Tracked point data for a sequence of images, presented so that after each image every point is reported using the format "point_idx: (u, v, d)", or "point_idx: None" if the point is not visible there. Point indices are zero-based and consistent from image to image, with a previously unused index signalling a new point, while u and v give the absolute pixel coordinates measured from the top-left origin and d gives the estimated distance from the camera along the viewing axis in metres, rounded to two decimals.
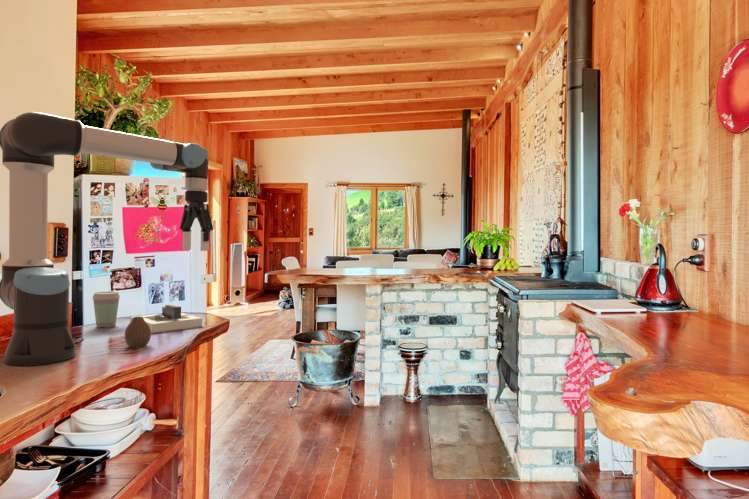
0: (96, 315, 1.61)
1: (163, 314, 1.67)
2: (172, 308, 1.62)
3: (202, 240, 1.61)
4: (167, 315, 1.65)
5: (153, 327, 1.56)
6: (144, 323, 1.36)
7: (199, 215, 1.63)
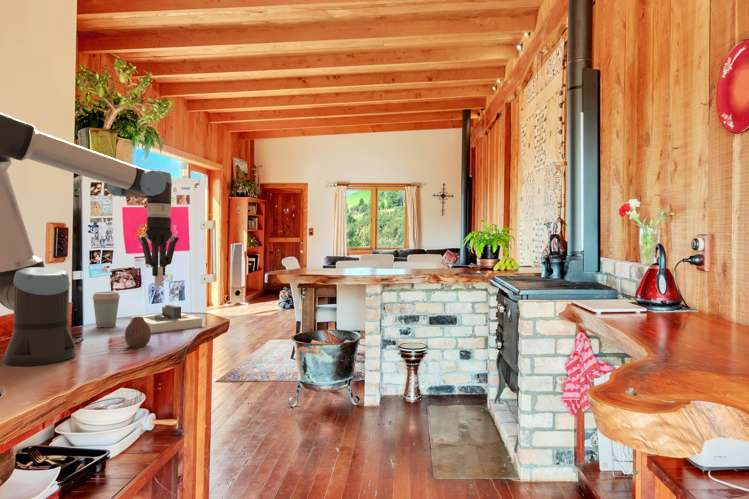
0: (96, 315, 1.61)
1: (163, 314, 1.67)
2: (172, 308, 1.62)
3: None
4: (167, 315, 1.65)
5: (153, 327, 1.56)
6: (144, 323, 1.36)
7: (152, 246, 1.57)
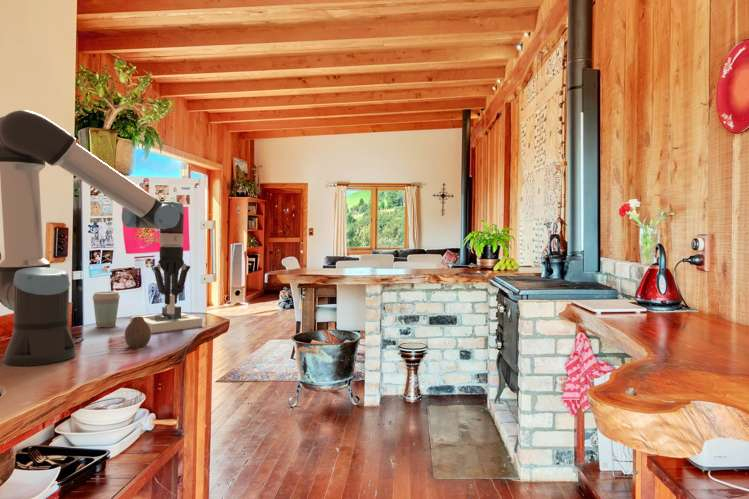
0: (96, 315, 1.61)
1: (163, 314, 1.67)
2: None
3: None
4: (167, 315, 1.65)
5: (153, 327, 1.56)
6: (144, 323, 1.36)
7: (164, 275, 1.61)
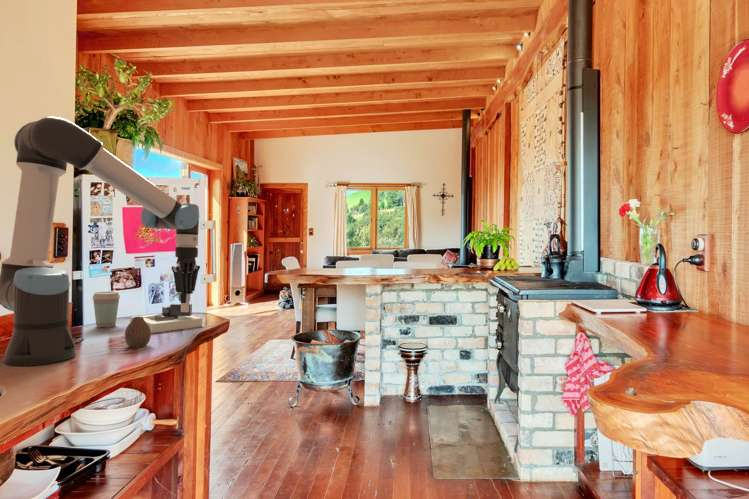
0: (96, 315, 1.61)
1: (166, 314, 1.67)
2: None
3: None
4: (175, 314, 1.67)
5: (153, 327, 1.56)
6: (144, 323, 1.36)
7: None
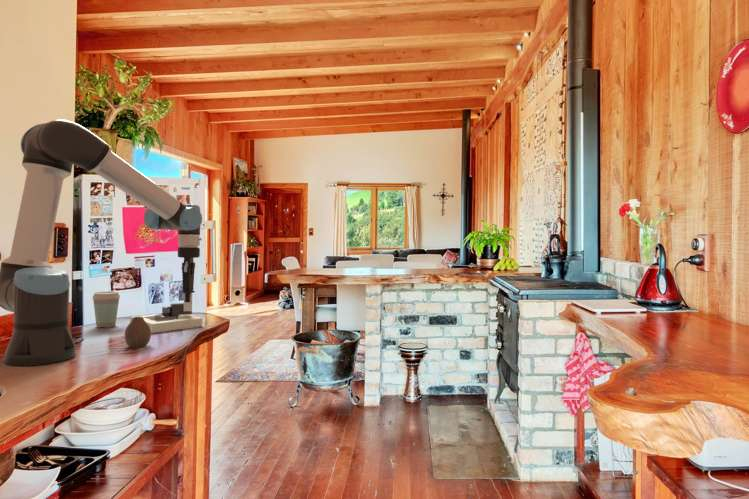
0: (96, 315, 1.61)
1: (168, 314, 1.67)
2: None
3: (184, 301, 1.69)
4: (177, 313, 1.69)
5: (153, 327, 1.56)
6: (144, 323, 1.36)
7: None
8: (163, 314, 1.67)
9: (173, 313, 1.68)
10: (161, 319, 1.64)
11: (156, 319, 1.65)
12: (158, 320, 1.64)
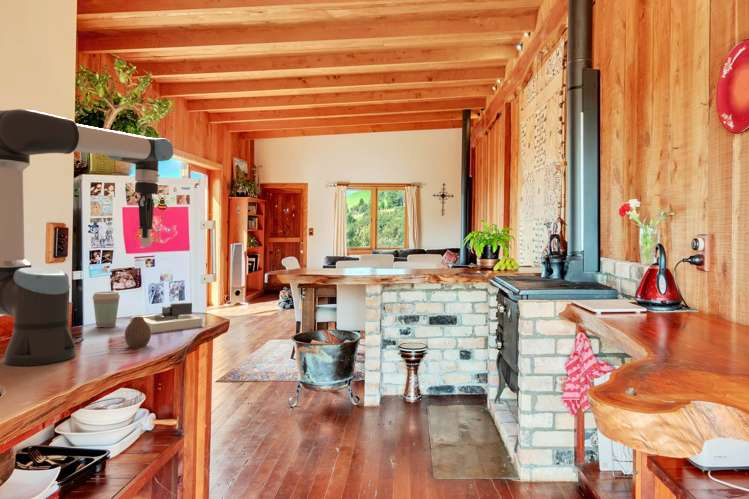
0: (96, 315, 1.61)
1: (168, 314, 1.67)
2: (187, 305, 1.71)
3: (142, 237, 1.69)
4: (177, 313, 1.69)
5: (153, 327, 1.56)
6: (144, 323, 1.36)
7: None
8: (163, 314, 1.67)
9: (173, 313, 1.68)
10: (161, 319, 1.64)
11: (156, 319, 1.65)
12: (158, 320, 1.64)
